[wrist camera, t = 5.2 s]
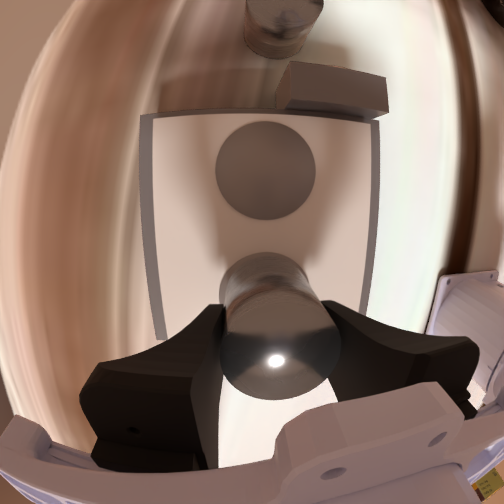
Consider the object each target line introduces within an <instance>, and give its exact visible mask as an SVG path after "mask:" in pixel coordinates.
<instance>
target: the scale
mask: <svg viewBox="0 0 504 504" xmlns="http://www.w3.org/2000/svg"><path fill="white" fill-rule="evenodd" d="M387 113H389V106H388V94H387V84H386V78H385V77H381V76H377V75H373V74H369V73H365V72H360V71H355V70H350V69H347V68H344V67H339V66H330V65H320V64H312V63H304V62H294V61H290V62H289V64H288V66H287V68H286V71H285V73H284V75H283V77H282V79H281V81H280V83H279V85H278V87H277V90H276V109H267V108H219V109H197V110H183V111H172V112H162V113H154V114H146V115H140V135H139V181H140V207H141V223H142V236H143V248H144V258H145V267H146V275H147V283H148V291H149V298H150V304H151V311H152V317H153V323H154V328H155V334H156V339H157V340H168V339H169V338H171V337H173V336H174V335H176V334H177V333H178V332H180V331H181V330H182V329H184V328H185V327H186V326H187V325H188V324H190V323H191V322H192V321H193V320H194V319H195V318H196V317H197V316H198V315H199V314H200V313H201V312H202V311H203V310H204V309H205V308H206V307H207V306H208V305H209V304H224V302H225V292H226V287H227V283H228V281H229V279H230V277H231V275H232V274H233V273H234V271H235V270H236V269H237V268H238V267H239V266H241V265H242V264H243V263H245V262H247V261H249V260H251V259H254V258H257V257H263V256H274V257H279V258H283V259H285V260H288V261H289V262H291V263H292V264H294V265H295V266H296V267H297V268H298V269H299V270H300V271H301V273H302V274H303V275H304V277H305V278H306V280H307V282H308V283H309V285H310V286H311V288H312V289H313V291H314V292H315V294H316V295H317V297H318V298H319V300H320V301H321V300H333V301H336V302H338V303H340V304H342V305H344V306H346V307H348V308H350V309H352V310H354V311H356V312H358V313H360V314H362V315H364V316H366V311H367V306H368V300H369V293H370V287H371V280H372V273H373V265H374V256H375V247H376V237H377V225H378V210H379V189H380V132H379V121H378V120H373V119H374V118H376V117H379V116H382V115H384V114H387Z"/></svg>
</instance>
